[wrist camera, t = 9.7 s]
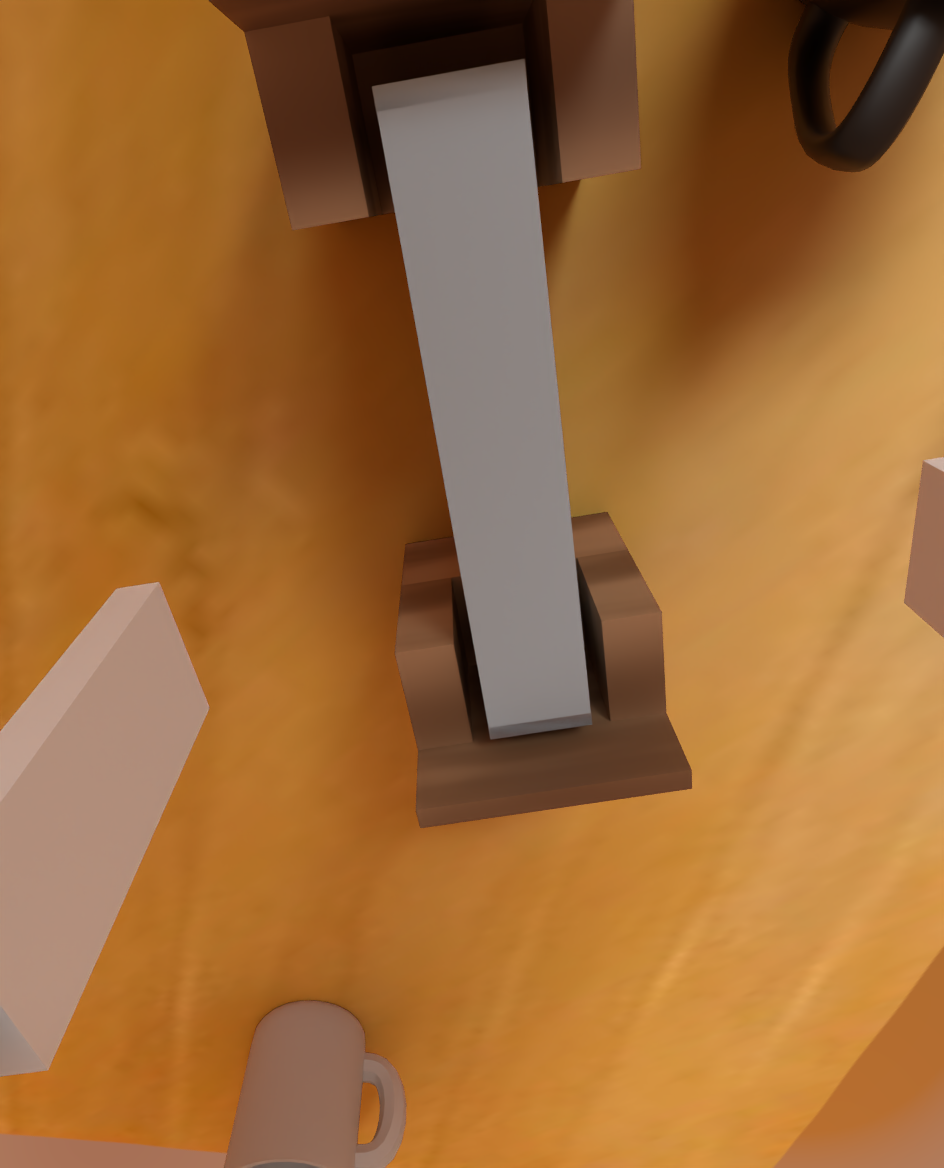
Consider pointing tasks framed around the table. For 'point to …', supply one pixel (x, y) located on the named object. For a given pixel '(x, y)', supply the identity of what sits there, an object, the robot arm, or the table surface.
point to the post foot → (552, 758)
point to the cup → (313, 1094)
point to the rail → (491, 379)
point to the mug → (919, 39)
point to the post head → (424, 48)
